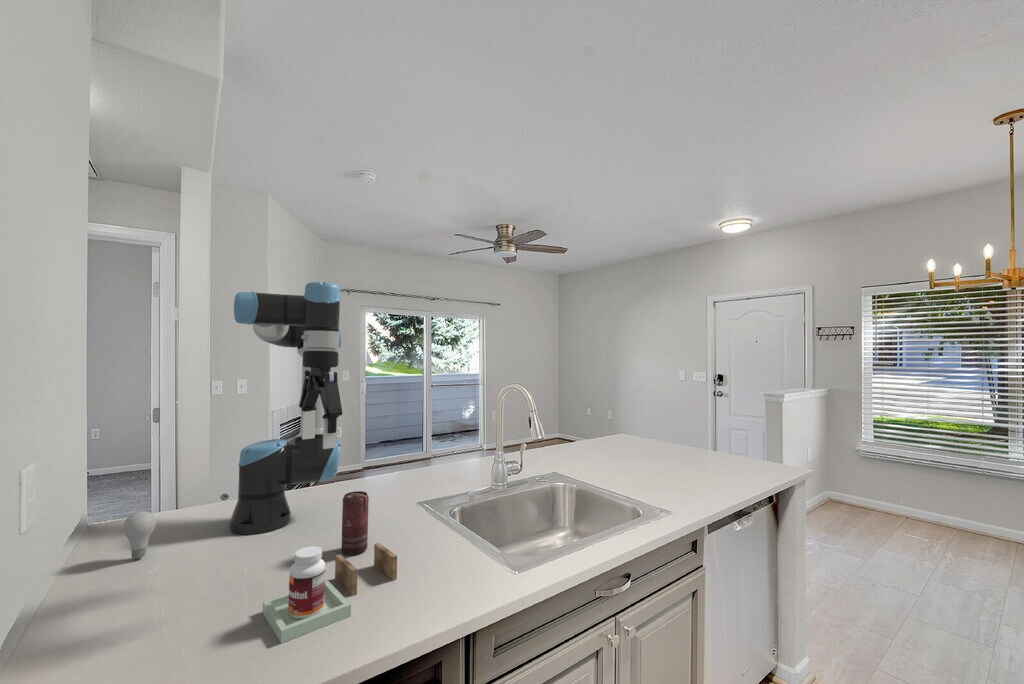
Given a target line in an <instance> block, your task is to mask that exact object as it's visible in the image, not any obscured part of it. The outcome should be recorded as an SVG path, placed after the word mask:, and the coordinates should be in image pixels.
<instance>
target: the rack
mask: <svg viewBox="0 0 1024 684" xmlns="http://www.w3.org/2000/svg"><path fill="white" fill-rule="evenodd" d="M373 547H374V548H373V550H374V551H373V555H374V556H373V566H374V567H375V568H376V569H377V570H378V571H380V572H381V573H382V574H383V575H385V576H386V577H387V578H389V579H390V580H391V581H395V580H397V579H398V555H397V554H395V553H394V552H392V551H391V550H390V549H388V548H387V547H386V546H384V545H383V544H381V543H379V542H376V543H374V546H373ZM334 562H335V564H334V565H335V566H334V569H335V570H334V580H336V582H337V583H338V584H339V585H341V586H342V587H343V589H344V590H346V592H348V593H349V595H351V596H355V595H357V594H358V568H357V567H356V566H354V565H353V564H352V563H351V562H350V561H349V560H347V558H345V557H344V556H343V555H342V554H340V553H339V554H336V555H335V561H334Z"/></svg>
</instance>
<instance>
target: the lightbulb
mask: <svg viewBox="0 0 1024 684" xmlns="http://www.w3.org/2000/svg"><path fill="white" fill-rule="evenodd" d="M156 526H157V518H156V516H155V514H153V513H152V512H149V511H146V510H145V511H137V512H135V513H132V514H131V515H129V516H128V517H127V518H126V519H125V521H124V523H123V525H122V532H123V533H122V534H124V536H125V537H126V539H127V541H128V543H129V546H130V547H129V549H130V550H131V558H132V559H133V560H134V559H135V560H141V559H142V558H143V557H144V556H145V555H146V552H147V547H148V545H149V541H150V537H151V535H152V533H153V532H154V530H155V528H156Z"/></svg>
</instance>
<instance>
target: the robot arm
mask: <svg viewBox="0 0 1024 684" xmlns="http://www.w3.org/2000/svg"><path fill="white" fill-rule="evenodd" d="M340 289H341V288H340V286H339V285H338V284H337V283H332V282H325V281H312V282H310V281H309V282H307V283H306V284H305V286H304V294H303V295H301V294H300V295H299V294H278V293H265V292H255V291H239V292H237V293H236V294H235V296H234V299H233V300H234V301H233V318H234V321H235V322H236V323H237V324H243V325H250V326H251V325H252V329H253V332H254V334H255V335H256V336H257V337H258V338H259V339H260V340H262V341H264V342H266V343H268V344H271V345H273V346H278V347H283V348H296V349H297V354H298V355H299V356H300V357H301V359H302V364H301V365H302V367H301V395H300V400H299V406H298V407H299V408H300V428H299V429H300V431H299V433H297V435H295V436H294V443H288V444H287V441H286V440H287V439H285V438H278V439H277V438H274V439H267V440H261V441H258V442H254V443H251V444H248V445H246V446H244V447H243V448H242V449H241V451H240V453H239V461H238V462H239V463H238V464H237V466H238V469H239V470H238V491H237V492H238V493H237V495H238V496H237V502H236V504H235V507H234V509H233V511H232V515H231V517H230V520H229V530H230V532H232V533H233V534H238V535H255V534H261V533H268V532H272V531H276V530H278V529H280V528H282V527H284V526H287V525H288V524H289V523H290V521H291V519H292V518H291V517H292V516H291V515H292V514H291V513H292V512H291V509H290V506H289V503H288V500H287V496H286V493H285V490H286V488H285V487H286V486H288V485H289V486H290V485H298V484H299V485H300V484H308V483H309V484H311V483H321V482H326V481H327V482H328V481H331V480H333V479H335V478H336V476H337V474H338V470H339V465H340V458H341V451H342V450H341V449H342V441H341V440H339V439H338V418H339V416H343V409H342V408H343V407H342V401H341V397H340V396H341V395H340V391H339V390H340V389H339V383H338V382H339V381H338V373H337V372H338V371H332V368H337V367H338V366H339V352H338V351H337V349H340V348H341V347H342V337H341V336H342V334H341V333H342V332H341V326H340V306H341V305H340V302H341V292H340V291H341V290H340Z"/></svg>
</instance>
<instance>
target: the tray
mask: <svg viewBox="0 0 1024 684" xmlns="http://www.w3.org/2000/svg"><path fill="white" fill-rule="evenodd" d="M288 602H289V592H286V593H284V594H281V595H278V596H275V597H272V598H269V599H266V600H263V601H262V614H263V615H264V617H265V619H266V622H267V623H268V624H269V626H270V627H271V629H272V631H273V633H274V634H275V636H276V637H277V639H278V641H279V642H280V644H284V643H286V642H289V641H291V640H294V639H296V638H298V637H302V636H304V635H306V634H309V633H311V632H314V631H316V630H319V629H321V628H323V627H326V626H328V625H331V624H334V623H336V622H340V621H341V620H344V619H346V618H349V617H351V615H352V604H351V602H349V601H348V600H347V599H346V598H345V596H344V595H342V593H341V592H340V591H339V590H338V589H337V588H336V587H334V585H333V584H332V583H331V582H330V581H329V580H328V579H325V591H324V606H323V608H322V610H321V611H320V612H319V613H317V614H316V615H314V616H311V617H308V618H302V619H297V618H293V617H291V616H290V615H289V613H288Z"/></svg>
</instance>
